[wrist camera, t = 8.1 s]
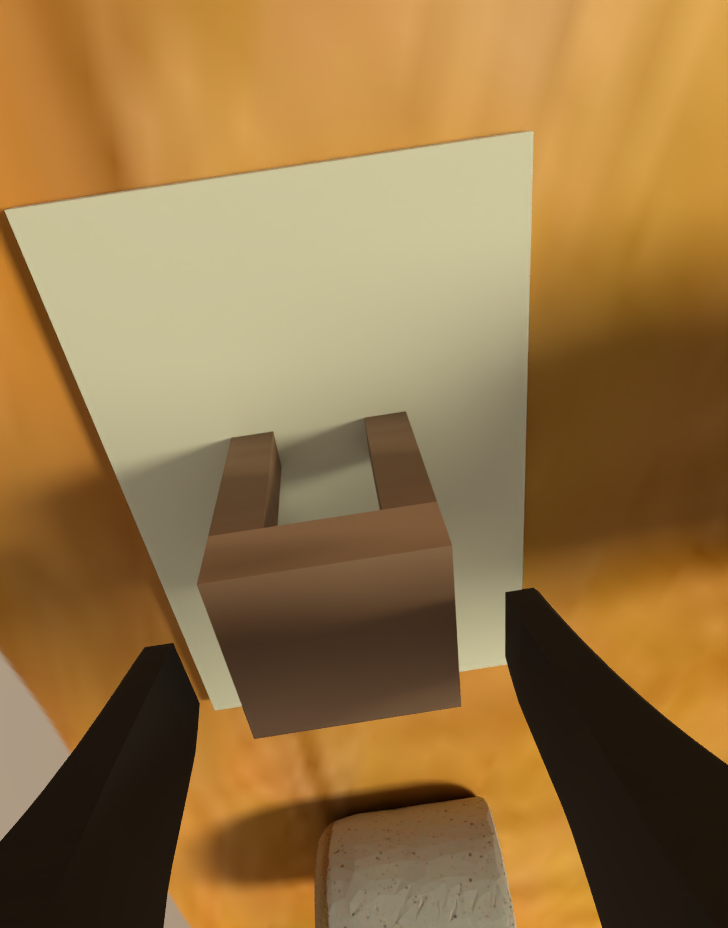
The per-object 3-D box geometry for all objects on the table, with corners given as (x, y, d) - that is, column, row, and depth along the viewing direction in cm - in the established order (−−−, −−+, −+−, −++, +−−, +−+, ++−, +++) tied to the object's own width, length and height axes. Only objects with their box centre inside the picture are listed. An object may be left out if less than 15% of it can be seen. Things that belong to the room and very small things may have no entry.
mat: (515, 649, 23) (520, 662, 22) (216, 697, 23) (214, 710, 22) (524, 130, 13) (533, 130, 13) (15, 206, 13) (4, 210, 13)
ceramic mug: (307, 789, 27) (308, 1011, 20) (481, 762, 27) (538, 974, 20) (339, 889, 32) (348, 1087, 26) (483, 867, 32) (527, 1058, 26)
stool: (418, 546, 19) (460, 706, 14) (268, 570, 19) (254, 739, 14) (405, 411, 16) (452, 545, 11) (231, 437, 16) (196, 584, 11)
